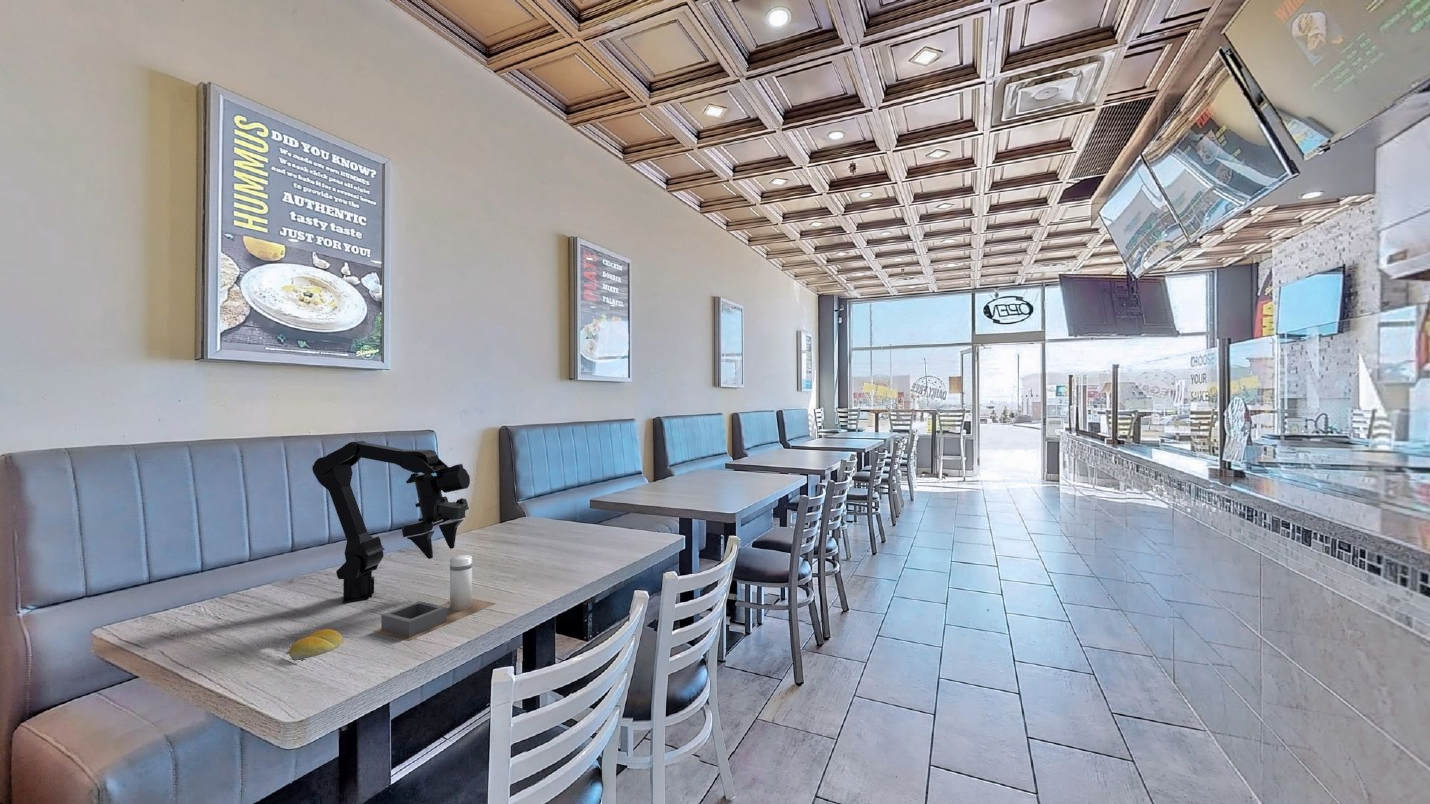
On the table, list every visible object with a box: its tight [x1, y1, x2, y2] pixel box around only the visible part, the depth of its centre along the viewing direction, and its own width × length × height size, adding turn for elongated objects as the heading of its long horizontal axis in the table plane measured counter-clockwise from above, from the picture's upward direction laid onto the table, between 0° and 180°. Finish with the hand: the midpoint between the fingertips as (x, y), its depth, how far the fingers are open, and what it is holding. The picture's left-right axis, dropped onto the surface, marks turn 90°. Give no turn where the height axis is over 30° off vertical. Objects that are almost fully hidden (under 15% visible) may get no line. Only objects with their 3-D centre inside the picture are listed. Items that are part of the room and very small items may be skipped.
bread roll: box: [288, 628, 344, 661], centre depth 112 cm, size 8×9×4 cm
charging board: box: [373, 597, 497, 642], centre depth 129 cm, size 24×12×1 cm, turn 156°
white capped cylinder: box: [449, 554, 473, 611], centre depth 135 cm, size 5×5×12 cm
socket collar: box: [380, 600, 447, 638], centre depth 123 cm, size 9×9×4 cm
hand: (441, 553), depth 143 cm, fingers open, 9 cm apart
